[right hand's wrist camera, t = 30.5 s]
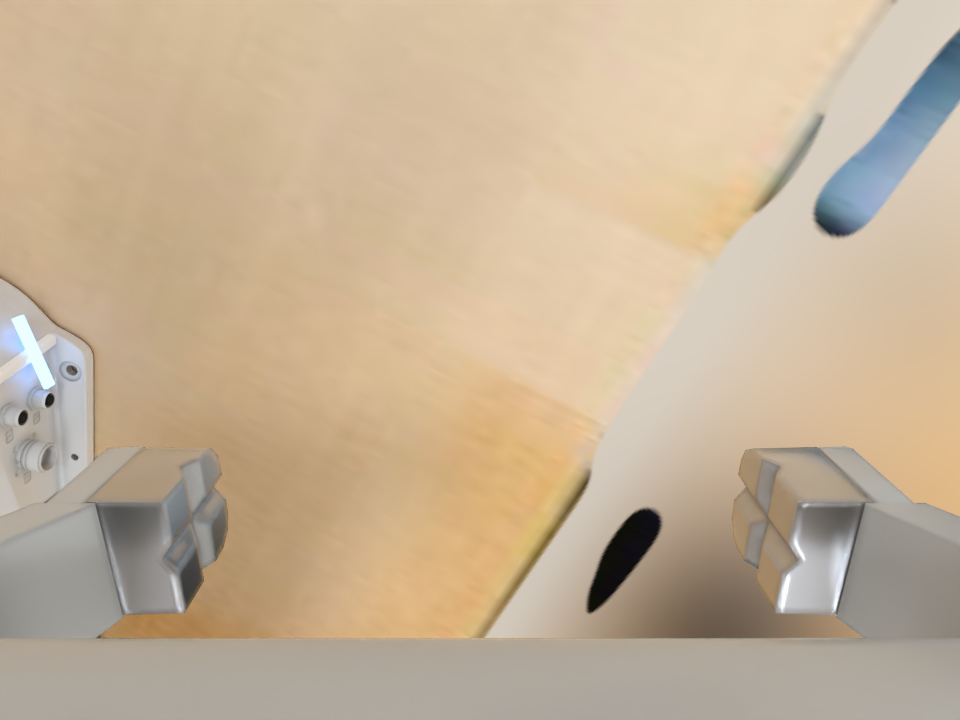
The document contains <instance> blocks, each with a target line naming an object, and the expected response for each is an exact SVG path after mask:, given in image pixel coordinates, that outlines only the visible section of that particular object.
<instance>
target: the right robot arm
mask: <svg viewBox="0 0 960 720" xmlns="http://www.w3.org/2000/svg"><path fill="white" fill-rule="evenodd" d="M72 366H74V367H76V369H77V372H76V371H74V370H73V369H72ZM221 475H222V474H221V469H220V464H219V459H218V455H217V454H216V453H215V452H214V451H213V449H211V448H157V447H149V448H146V447H116V448H108V449H107V450H105V451H104V452H103V453H102V454H101V455H100V456H99V457H98V458H96V459H95V460H94V385H93V353H92V350H91V349H90V347H89V346H88V345H87V344H86V343H85V342H84V341H82V340H81V339H79V338H78V337H76V336H75V335H73V334H71V333H69V332H67V331H66V330H64V329H62V328H60V327H58V326H57V325H56V324H54V323H53V322H52V321H51V320H50V319H49V318H48V317H47V316H46V315H45V314H44V313H43V312H42V311H41V309H40V308H39V307H38V306H37V305H36V304H35V303H34V302H33V301H32V300H31V299H30V298H28V297H27V296H26V295H25V294H24V293H22V292H21V291H20V290H19V289H17V288H16V287H14V286H13V285H11V284H10V283H8V282H6V281H5V280H3V279H1V278H0V720H960V517H959V516H957V515H954V514H951V513H949V512H946V511H944V510H941V509H939V508H936V507H934V506H931V505H929V504H926V503H914V502H912V501H911V500H910V499H909V498H908V497H907V496H906V495H904V494H903V493H902V492H901V491H900V490H899V489H898V488H897V487H895V486H894V485H893V484H892V483H891V482H890V481H889V480H888V479H886V478H885V477H884V476H883V475H882V474H881V473H880V472H878V471H877V470H876V469H875V468H874V467H873V466H872V465H871V464H869V463H868V462H867V461H866V460H865V459H864V458H863V457H862V456H860V455H859V454H858V453H857V452H856V451H855V450H854V449H851V448H848V447H844V446H843V447H822V448H817V447H804V448H803V447H802V448H760V449H749V450H745V452H744V454H743V457H742V459H741V463H740V468H739V476H740V478H741V479H742V481H743V482H744V484H745V486H746V488H745V489H744V490H743V491H742V492H741V493H740V494H739V495H738V496H737V497H736V498H735V499H734V505H733V513H732V526H733V536H734V539H735V543H736V546H737V549H738V551H739V552H740V554H741V556H742V558H743V559H744V561H746V562H748V563H749V564H751V565H753V566H754V567H756V568H757V569H758V573H757V578H756V581H757V583H758V585H759V586H760V588H761V590H762V591H763V593H764V595H765V596H766V598H767V600H768V601H769V603H770V605H771V606H772V608H773V609H774V611H775V613H790V614H827V615H837V618H838V619H839V620H841V621H842V622H843V623H845V624H846V625H847V626H849V627H850V628H852V629H853V630H854V631H856V632H857V633H858V634H860V635H861V636H862V637H864V638H98V636H99V635H101V634H102V633H103V632H105V631H106V630H107V629H109V628H110V627H111V626H113V625H114V624H115V623H117V622H118V621H120V620H121V619H122V618H123V615H133V614H169V613H185V611H186V610H187V608H188V606H189V605H190V603H191V601H192V600H193V598H194V596H195V595H196V593H197V591H198V590H199V588H200V586H201V585H202V583H203V581H204V578H203V572H202V569H203V568H204V567H206V566H208V565H209V564H211V563H212V562H214V561H216V559H217V558H218V556H219V554H220V552H221V550H222V549H223V546H224V542H225V538H226V534H227V530H228V511H227V504H226V499H225V498H224V497H223V496H222V495H221V494H220V493H219V492H218V491H217V490H216V489H215V488H214V486H215V484H216V483H217V481H218V479H219V478H220V476H221Z"/></svg>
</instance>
